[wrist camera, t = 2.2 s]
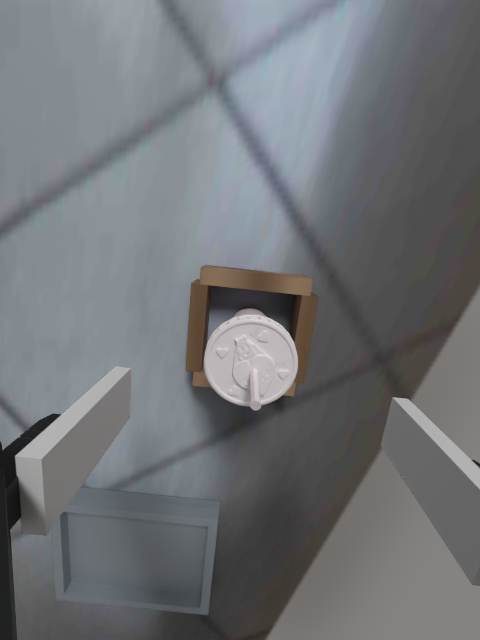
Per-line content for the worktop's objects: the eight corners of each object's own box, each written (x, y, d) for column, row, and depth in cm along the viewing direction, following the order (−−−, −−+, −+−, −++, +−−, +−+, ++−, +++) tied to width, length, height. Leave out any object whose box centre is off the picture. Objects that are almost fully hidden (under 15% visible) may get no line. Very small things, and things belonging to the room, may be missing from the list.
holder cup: (190, 371, 31) (184, 384, 28) (197, 264, 28) (192, 266, 25) (296, 382, 31) (301, 397, 28) (313, 276, 28) (321, 280, 25)
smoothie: (231, 365, 30) (219, 464, 17) (206, 308, 29) (170, 364, 15) (291, 343, 30) (329, 427, 16) (268, 283, 28) (289, 319, 15)
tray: (67, 577, 38) (55, 599, 35) (63, 485, 34) (49, 502, 32) (210, 592, 38) (208, 615, 36) (220, 501, 34) (218, 520, 32)
